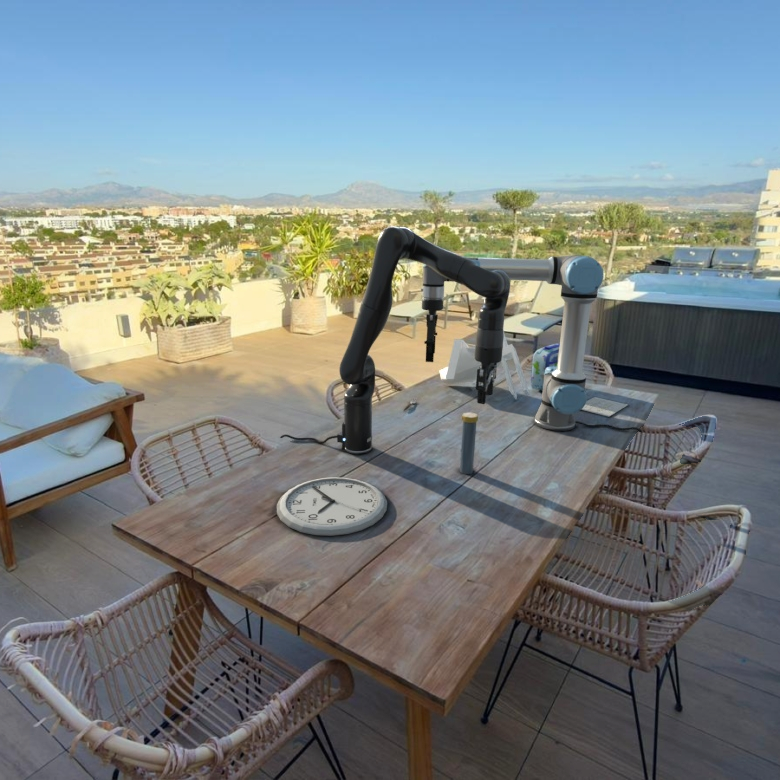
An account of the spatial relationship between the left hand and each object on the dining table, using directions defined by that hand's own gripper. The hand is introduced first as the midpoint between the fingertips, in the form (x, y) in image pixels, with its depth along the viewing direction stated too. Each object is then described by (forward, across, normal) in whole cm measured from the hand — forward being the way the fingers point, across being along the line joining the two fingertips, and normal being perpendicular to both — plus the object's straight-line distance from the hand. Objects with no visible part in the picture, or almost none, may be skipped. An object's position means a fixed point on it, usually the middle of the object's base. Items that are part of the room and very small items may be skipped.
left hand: (484, 399), depth 151 cm
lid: (+8, -4, -5) cm, 10 cm away
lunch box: (+26, -110, +7) cm, 113 cm away
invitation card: (+26, -91, +31) cm, 99 cm away
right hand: (-2, -33, -28) cm, 43 cm away
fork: (+26, -55, -44) cm, 75 cm away
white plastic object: (+26, -87, -22) cm, 94 cm away
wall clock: (+26, +32, -33) cm, 52 cm away
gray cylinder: (+26, -4, -5) cm, 27 cm away
